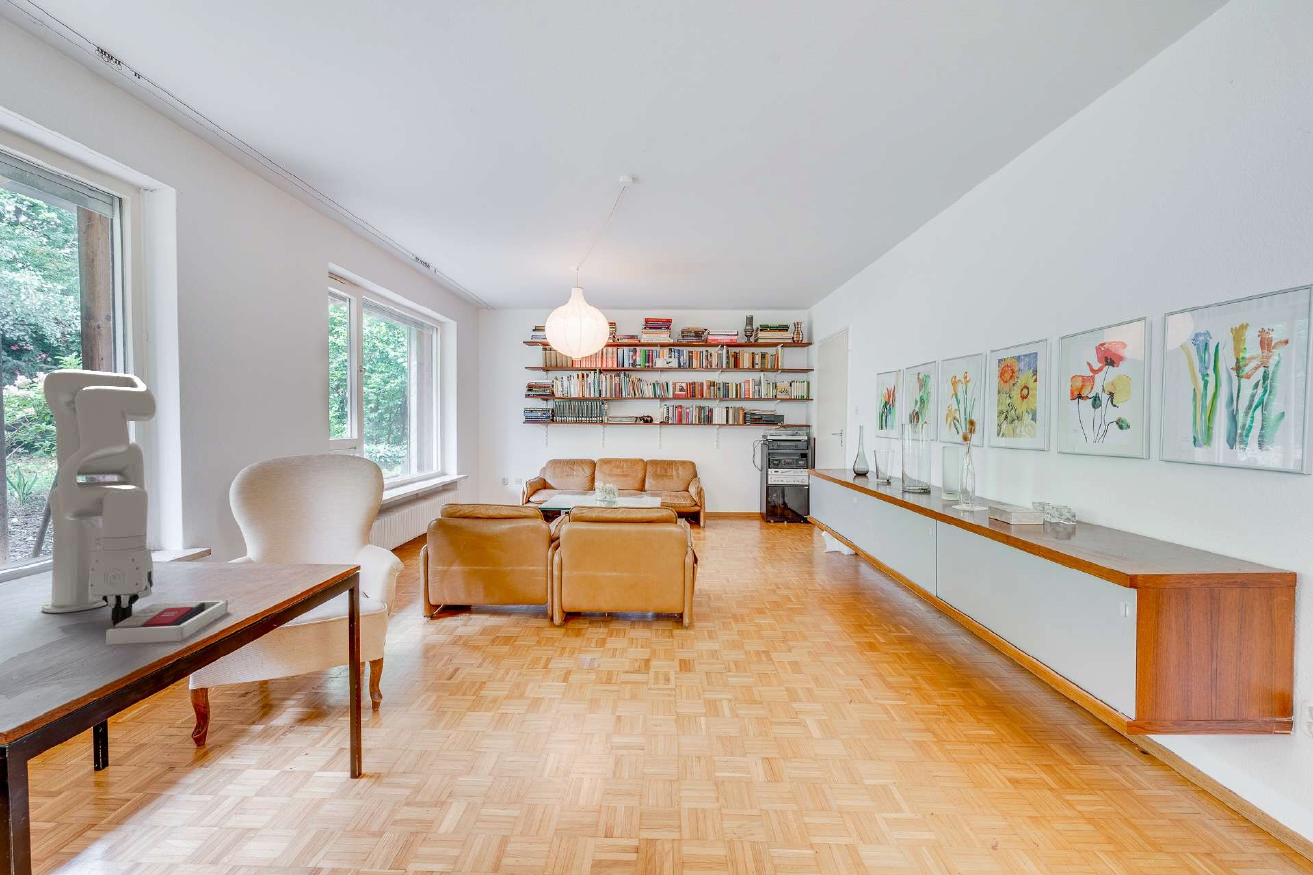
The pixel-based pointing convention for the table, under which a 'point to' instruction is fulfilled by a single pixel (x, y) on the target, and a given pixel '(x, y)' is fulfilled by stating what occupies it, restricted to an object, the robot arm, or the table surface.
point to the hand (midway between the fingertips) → (121, 623)
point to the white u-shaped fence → (168, 627)
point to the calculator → (163, 615)
